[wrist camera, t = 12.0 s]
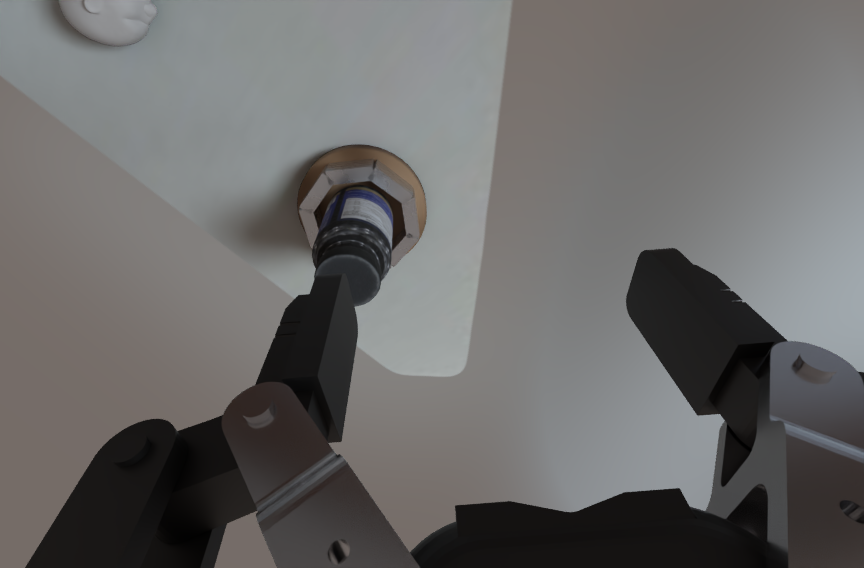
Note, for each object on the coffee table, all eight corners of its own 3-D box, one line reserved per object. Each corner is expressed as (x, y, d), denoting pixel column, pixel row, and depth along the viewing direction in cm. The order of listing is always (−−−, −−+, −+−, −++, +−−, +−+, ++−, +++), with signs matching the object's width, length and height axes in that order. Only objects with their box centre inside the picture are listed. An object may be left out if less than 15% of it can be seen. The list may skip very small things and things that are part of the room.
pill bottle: (351, 251, 39) (336, 326, 30) (314, 201, 36) (284, 269, 27) (405, 225, 38) (405, 295, 29) (371, 170, 34) (359, 231, 25)
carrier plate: (319, 264, 41) (313, 284, 39) (283, 152, 34) (272, 166, 32) (431, 252, 41) (433, 271, 39) (418, 137, 34) (419, 150, 31)
